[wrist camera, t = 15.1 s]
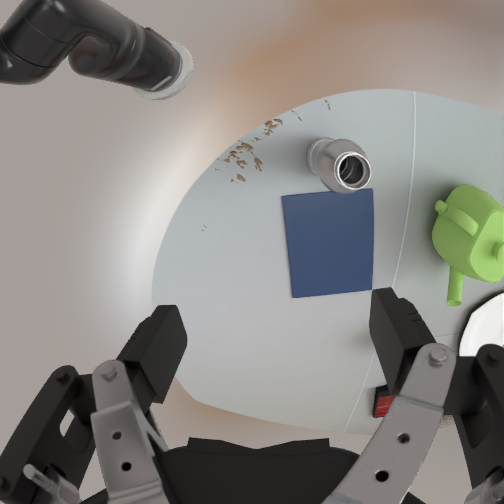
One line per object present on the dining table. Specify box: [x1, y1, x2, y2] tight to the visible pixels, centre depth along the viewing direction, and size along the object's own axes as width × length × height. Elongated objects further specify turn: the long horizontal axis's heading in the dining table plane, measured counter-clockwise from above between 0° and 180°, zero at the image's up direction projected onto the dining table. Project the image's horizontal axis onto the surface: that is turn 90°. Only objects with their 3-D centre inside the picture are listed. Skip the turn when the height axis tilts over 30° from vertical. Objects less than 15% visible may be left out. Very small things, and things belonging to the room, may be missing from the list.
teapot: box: [432, 184, 504, 306], centre depth 39 cm, size 25×22×16 cm
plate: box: [459, 293, 504, 356], centre depth 52 cm, size 23×23×2 cm
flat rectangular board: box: [282, 189, 374, 298], centre depth 49 cm, size 20×16×1 cm
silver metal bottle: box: [307, 138, 371, 194], centre depth 34 cm, size 6×7×20 cm
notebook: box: [373, 385, 396, 418], centre depth 63 cm, size 16×2×21 cm
